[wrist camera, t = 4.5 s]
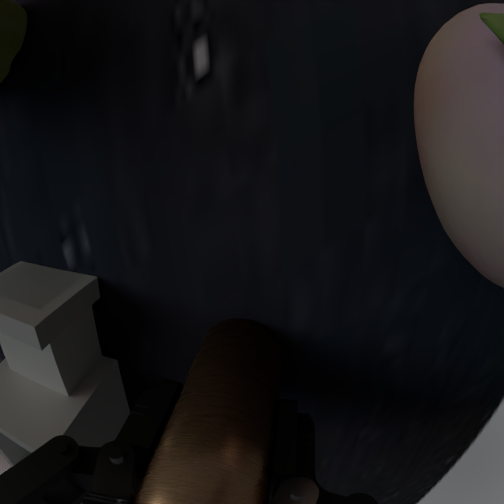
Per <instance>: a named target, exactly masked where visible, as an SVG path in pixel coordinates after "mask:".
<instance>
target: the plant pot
mask: <svg viewBox="0 0 504 504" xmlns="http://www.w3.org/2000/svg"><path fill="white" fill-rule="evenodd" d="M26 28H27V14H26V11H25V9H24V8H23V7H21V6H20V5H19V4H17V3H15V2H13V1H11V0H0V83H1V82H2V81H3V80H4V79H5V77H6V76H7V75H8V73H9V71H10V66H11V63H12V60H13V59H14V57H15V55H16V54H17V53H18V52H19V50H20V49H21V47H22V44H23V41H24V38H25V34H26Z"/></svg>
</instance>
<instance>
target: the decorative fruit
mask: <svg viewBox="0 0 504 504" xmlns="http://www.w3.org/2000/svg"><path fill="white" fill-rule="evenodd" d="M414 120H415V132H416V139H417V147H418V152H419V158H420V163H421V167H422V171H423V176H424V179H425V182H426V186H427V189H428V192H429V195H430V197H431V200H432V203H433V205H434V208H435V210H436V213H437V215H438V217H439V219H440V222H441V224H442V226H443V228H444V230H445V232H446V233H447V235H448V236H449V238H450V239H451V240H452V242H453V243H454V245H455V246H456V248H457V249H458V250H459V251H460V252H461V254H462V255H463V256H464V257H465V258H466V259H467V260H468V261H469V262H470V263H471V265H472V266H473V267H475V268H476V269H477V270H478V271H479V272H480V273H481V274H482V275H483V276H484V277H486V278H487V279H489V280H490V281H491V282H493V283H495V284H497V285H499V286H501V287H503V288H504V4H495V3H488V4H480V5H477V6H474V7H472V8H469V9H467V10H464V11H462V12H460V13H458V14H457V15H456V16H454V17H453V18H452V19H451V20H449V21H448V22H447V23H445V24H444V25H443V26H442V28H441V29H440V30H439V31H438V32H437V34H436V35H435V36H434V37H433V39H432V40H431V42H430V43H429V45H428V47H427V48H426V51H425V53H424V56H423V58H422V60H421V63H420V66H419V70H418V73H417V78H416V84H415V92H414Z"/></svg>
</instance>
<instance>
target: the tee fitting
mask: <svg viewBox="0 0 504 504" xmlns="http://www.w3.org/2000/svg"><path fill="white" fill-rule="evenodd" d="M99 298H100V293H99V286H98V278H97V277H95V276H90V275H85V274H80V273H75V272H70V271H65V270H60V269H55V268H50V267H45V266H41V265H36V264H32V263H27V262H23V261H20V262H18V263H17V264H15V265H13V266H11V267H9V268H8V269H6V270H4V271H2V272H1V273H0V344H1V347H2V350H3V352H4V355H5V357H6V358H5V359H4V360H3V361H2V362H1V363H0V453H1V454H2V455H3V456H4V458H5V459H6V460H7V461H8V463H9V464H10V465H11V466H12V467H13V466H14V465H15V464H17V463H18V462H20V461H21V460H22V459H24V458H25V457H27V456H28V455H29V454H31V453H32V452H34V451H35V450H36V449H38V448H39V447H41V446H42V445H43V444H45V443H46V442H48V441H49V440H50V439H52V438H53V437H55V436H59V435H66V436H69V437H71V438H73V439H74V440H75V441H76V442H77V444H78V445H79V446H88V447H102V446H103V445H104V444H106V443H108V442H111V441H114V440H115V439H116V437H117V435H118V434H119V432H120V430H121V428H122V427H123V425H124V423H125V421H126V419H127V418H128V416H129V414H130V410H129V406H128V402H127V399H126V395H125V391H124V387H123V383H122V379H121V375H120V370H119V366H118V361H117V360H116V359H112V358H109V357H105V356H102V353H101V349H100V344H99V340H98V335H97V330H96V325H95V320H94V315H93V310H92V304H93V303H94V302H95V301H97V300H98V299H99ZM81 504H82V503H81Z"/></svg>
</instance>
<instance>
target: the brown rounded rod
mask: <svg viewBox="0 0 504 504" xmlns="http://www.w3.org/2000/svg"><path fill="white" fill-rule="evenodd" d="M282 354H283V353H282V346H281V344H280V341H279V340H278V338H277V336H276V335H275V334H274V333H273V332H272V331H271V330H270V329H268V328H267V327H266V326H264V325H262V324H260V323H258V322H255V321H252V320H247V319H229V320H225V321H222V322H220V323H218V324H216V325H214V326H213V327H212V328H211V329H210V330H209V331H208V332H207V334H206V336H205V338H204V340H203V343H202V345H201V347H200V349H199V351H198V354H197V356H196V358H195V360H194V363H193V365H192V367H191V369H190V372H189V374H188V376H187V378H186V381H185V383H184V385H183V388H182V390H181V392H180V394H179V397H178V399H177V401H176V403H175V406H174V408H173V410H172V412H171V415H170V417H169V419H168V422H167V424H166V426H165V428H164V431H163V433H162V435H161V437H160V440H159V442H158V444H157V447H156V449H155V451H154V454H153V456H152V458H151V460H150V463H149V465H148V467H147V470H146V472H145V474H144V477H143V479H142V481H141V483H140V486H139V488H138V490H137V493H136V495H135V497H134V500H133V504H269V497H270V488H271V482H270V481H271V472H272V463H273V453H274V443H275V433H276V422H277V411H278V402H279V395H280V382H281V369H282Z"/></svg>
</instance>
